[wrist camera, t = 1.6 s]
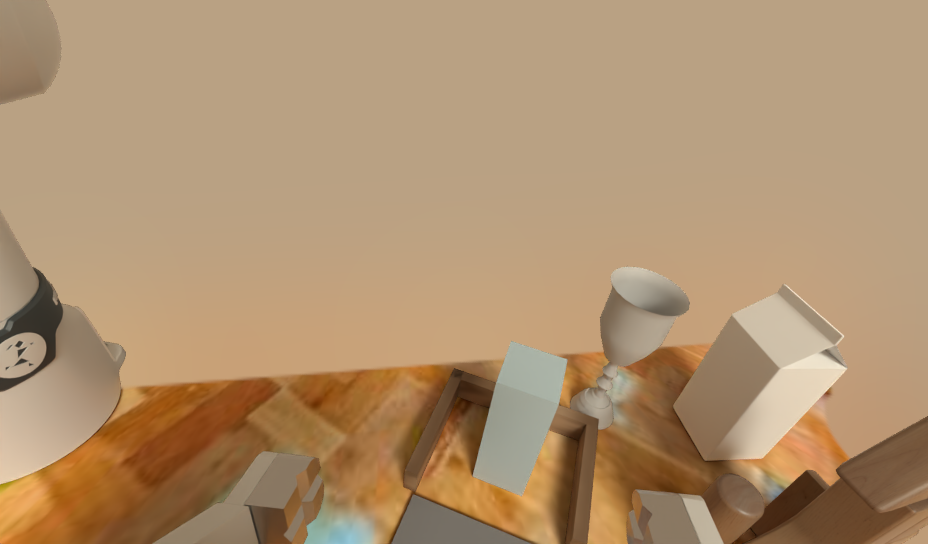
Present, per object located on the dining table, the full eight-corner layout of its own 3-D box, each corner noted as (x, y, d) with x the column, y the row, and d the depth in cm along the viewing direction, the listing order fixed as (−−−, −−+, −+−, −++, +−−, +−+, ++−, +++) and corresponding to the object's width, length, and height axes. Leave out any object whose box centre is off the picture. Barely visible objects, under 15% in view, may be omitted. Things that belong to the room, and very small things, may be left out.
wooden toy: (771, 512, 43) (977, 329, 28) (834, 589, 38) (1123, 416, 23) (642, 552, 38) (807, 359, 24) (693, 646, 33) (943, 474, 19)
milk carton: (703, 462, 46) (807, 335, 35) (671, 406, 52) (751, 282, 41) (761, 460, 48) (879, 336, 37) (723, 406, 53) (815, 285, 42)
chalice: (635, 422, 50) (705, 303, 39) (594, 448, 46) (659, 325, 36) (589, 377, 54) (640, 260, 44) (549, 398, 51) (595, 276, 40)
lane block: (472, 476, 42) (496, 382, 34) (486, 434, 46) (511, 341, 38) (521, 496, 41) (558, 404, 33) (532, 451, 45) (567, 359, 37)
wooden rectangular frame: (403, 486, 40) (404, 469, 39) (451, 385, 51) (454, 368, 49) (577, 559, 37) (587, 544, 35) (590, 435, 47) (599, 419, 46)
